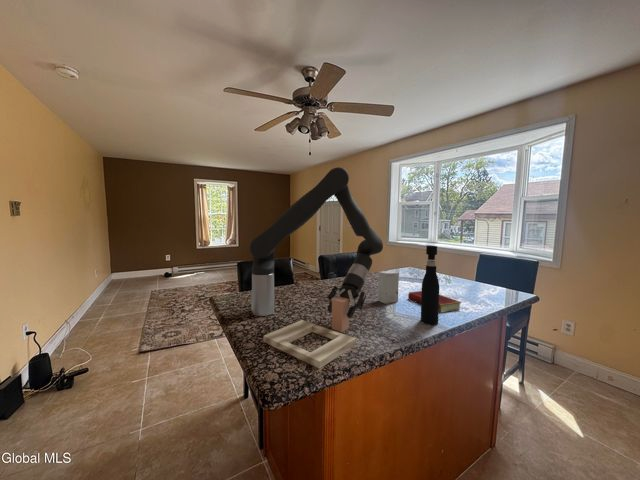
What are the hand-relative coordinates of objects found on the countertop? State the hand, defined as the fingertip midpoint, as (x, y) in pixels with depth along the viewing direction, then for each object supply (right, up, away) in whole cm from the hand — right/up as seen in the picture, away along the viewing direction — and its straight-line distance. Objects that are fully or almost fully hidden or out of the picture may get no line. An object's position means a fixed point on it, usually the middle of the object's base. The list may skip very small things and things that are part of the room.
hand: (338, 314), depth 94 cm
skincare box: (+27, -4, +34) cm, 44 cm away
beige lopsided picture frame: (-10, -6, -10) cm, 16 cm away
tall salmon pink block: (+1, -6, +1) cm, 6 cm away
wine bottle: (+36, -5, +8) cm, 38 cm away
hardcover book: (+48, -4, +30) cm, 57 cm away
